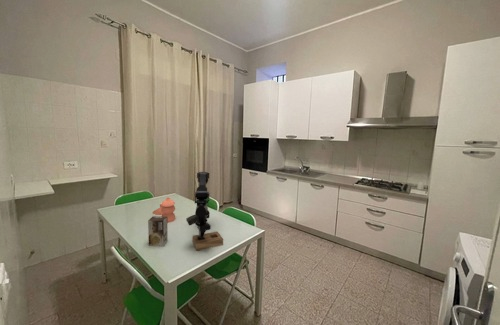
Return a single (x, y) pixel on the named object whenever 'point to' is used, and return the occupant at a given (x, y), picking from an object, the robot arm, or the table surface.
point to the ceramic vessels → (166, 210)
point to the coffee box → (157, 231)
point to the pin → (200, 237)
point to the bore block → (207, 241)
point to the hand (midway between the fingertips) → (201, 235)
